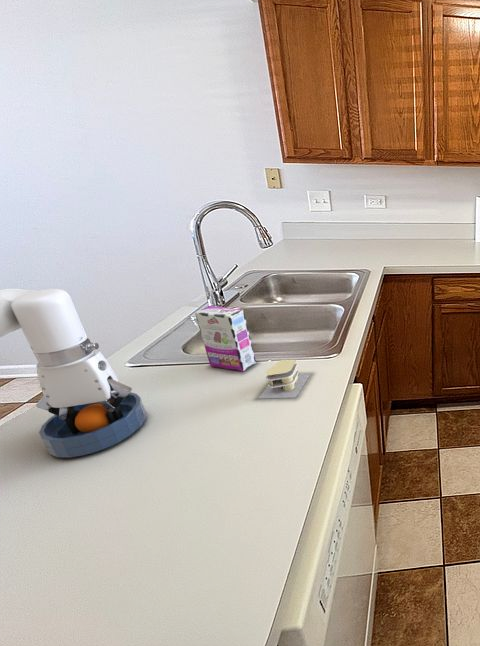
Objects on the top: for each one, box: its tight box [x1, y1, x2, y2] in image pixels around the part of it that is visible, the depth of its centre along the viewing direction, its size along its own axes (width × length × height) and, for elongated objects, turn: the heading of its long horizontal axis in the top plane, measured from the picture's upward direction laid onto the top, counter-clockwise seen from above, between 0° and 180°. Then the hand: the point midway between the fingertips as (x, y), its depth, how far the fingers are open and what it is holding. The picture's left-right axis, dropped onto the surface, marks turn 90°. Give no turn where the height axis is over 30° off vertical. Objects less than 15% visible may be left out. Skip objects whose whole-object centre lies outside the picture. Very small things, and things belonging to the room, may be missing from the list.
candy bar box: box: [194, 305, 257, 372], centre depth 106 cm, size 11×5×16 cm, turn 76°
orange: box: [75, 404, 110, 433], centre depth 82 cm, size 6×6×6 cm
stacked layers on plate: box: [258, 359, 311, 399], centre depth 99 cm, size 10×9×6 cm
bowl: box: [38, 391, 147, 458], centre depth 83 cm, size 15×15×5 cm
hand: (98, 426), depth 83 cm, fingers closed on orange, 5 cm apart
